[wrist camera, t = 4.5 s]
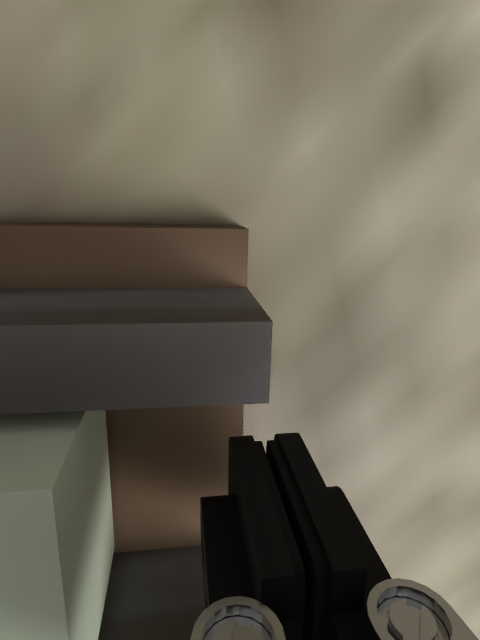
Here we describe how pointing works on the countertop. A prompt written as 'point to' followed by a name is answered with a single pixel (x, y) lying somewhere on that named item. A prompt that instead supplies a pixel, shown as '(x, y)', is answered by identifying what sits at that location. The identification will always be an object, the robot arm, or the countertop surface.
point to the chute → (140, 384)
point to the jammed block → (54, 525)
